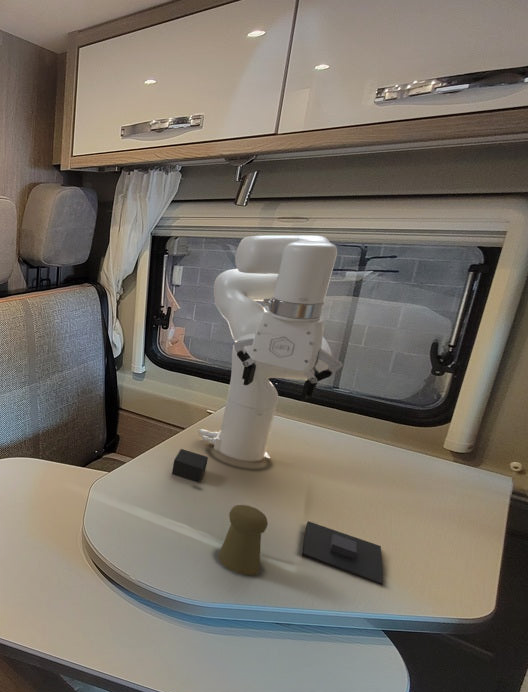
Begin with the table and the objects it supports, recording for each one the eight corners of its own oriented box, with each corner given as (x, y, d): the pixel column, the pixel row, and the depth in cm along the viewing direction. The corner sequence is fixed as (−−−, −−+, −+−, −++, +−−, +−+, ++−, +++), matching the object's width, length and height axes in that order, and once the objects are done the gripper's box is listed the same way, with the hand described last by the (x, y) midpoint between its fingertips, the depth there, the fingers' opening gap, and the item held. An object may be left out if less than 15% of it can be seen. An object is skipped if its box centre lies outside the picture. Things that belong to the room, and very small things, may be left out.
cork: (252, 557, 79) (265, 503, 76) (264, 582, 74) (278, 525, 71) (213, 550, 81) (223, 496, 78) (222, 574, 76) (233, 517, 73)
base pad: (301, 557, 79) (305, 546, 78) (306, 525, 85) (309, 514, 85) (380, 588, 72) (385, 576, 71) (379, 550, 79) (383, 539, 78)
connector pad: (171, 474, 101) (174, 459, 100) (178, 463, 105) (181, 448, 104) (199, 484, 98) (202, 468, 96) (205, 471, 102) (208, 456, 100)
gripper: (236, 304, 89) (220, 383, 96) (350, 322, 77) (323, 411, 83) (250, 297, 94) (234, 373, 100) (361, 313, 81) (335, 399, 87)
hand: (275, 390), depth 91 cm, fingers open, 9 cm apart
